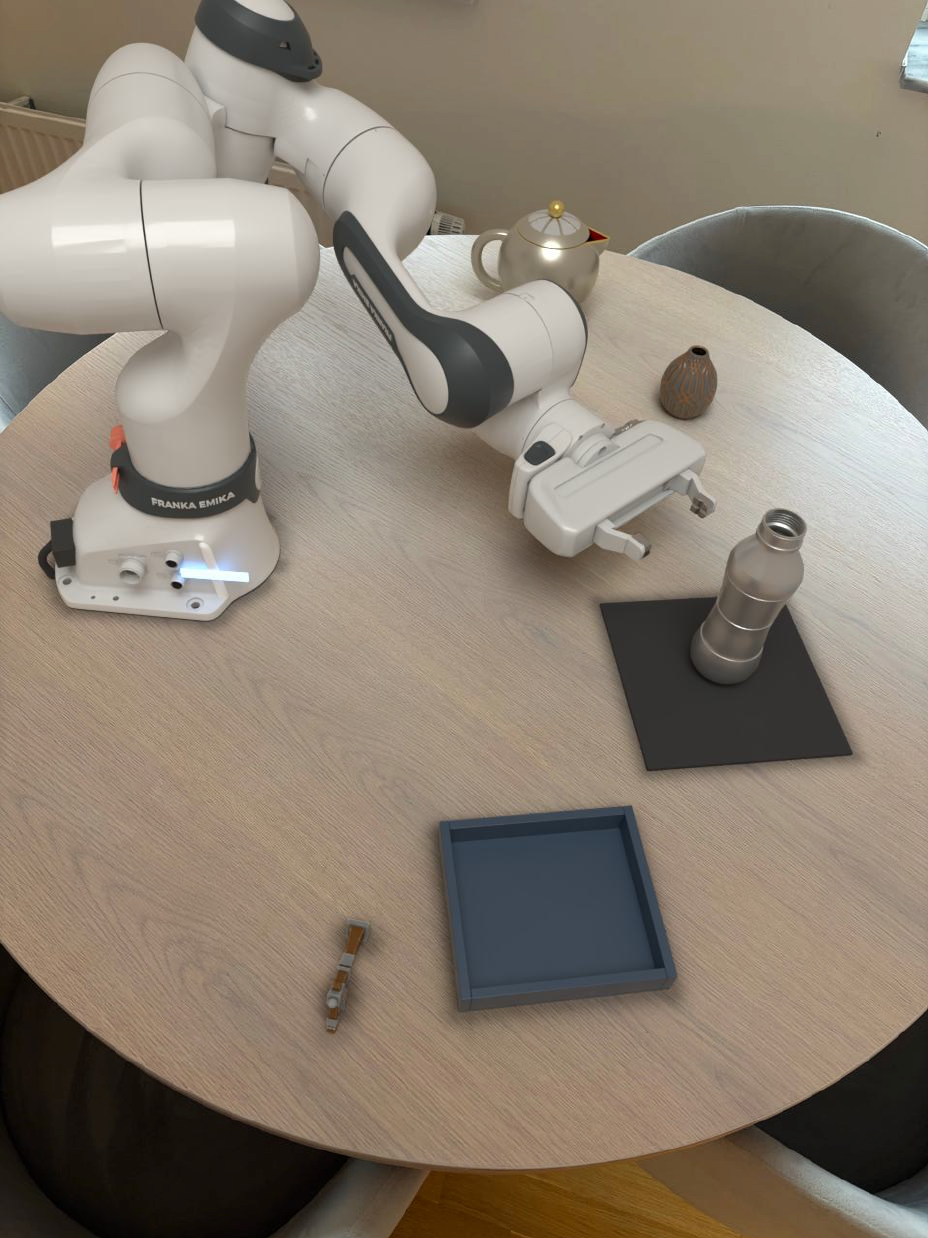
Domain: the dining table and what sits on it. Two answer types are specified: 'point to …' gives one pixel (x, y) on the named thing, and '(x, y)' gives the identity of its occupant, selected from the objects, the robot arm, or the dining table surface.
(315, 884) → the dining table surface
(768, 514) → the silver metal bottle
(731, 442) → the dining table surface
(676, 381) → the vase
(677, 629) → the mat
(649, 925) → the tray
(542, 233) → the teapot
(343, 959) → the wooden post with brackets
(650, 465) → the robot arm
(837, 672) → the dining table surface
